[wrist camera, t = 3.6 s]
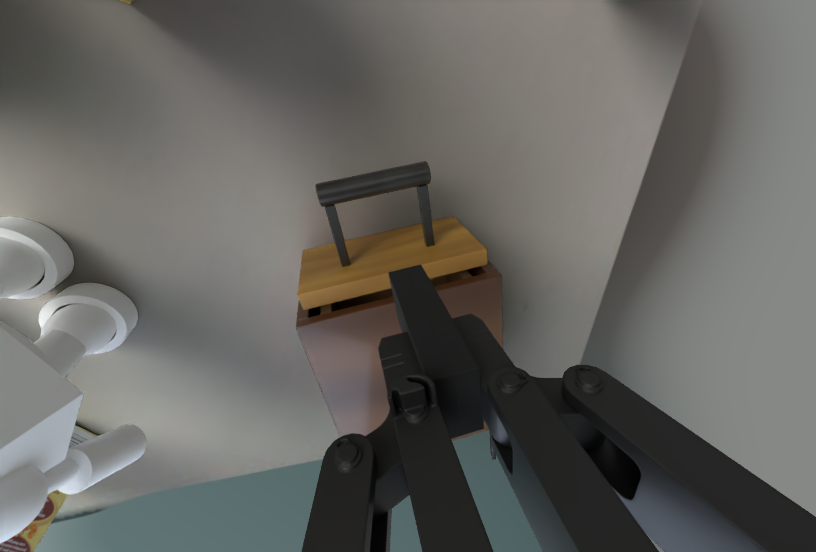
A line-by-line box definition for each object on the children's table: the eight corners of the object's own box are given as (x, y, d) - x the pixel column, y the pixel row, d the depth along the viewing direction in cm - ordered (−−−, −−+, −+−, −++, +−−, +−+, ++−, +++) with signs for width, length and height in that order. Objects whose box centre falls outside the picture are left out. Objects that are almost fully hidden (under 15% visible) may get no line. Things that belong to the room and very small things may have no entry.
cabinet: (302, 265, 28) (295, 327, 21) (457, 229, 30) (502, 275, 23) (347, 393, 36) (353, 471, 29) (469, 359, 38) (504, 425, 30)
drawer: (277, 177, 24) (263, 206, 18) (446, 143, 25) (483, 159, 20) (347, 379, 34) (352, 439, 28) (465, 347, 36) (493, 398, 30)
